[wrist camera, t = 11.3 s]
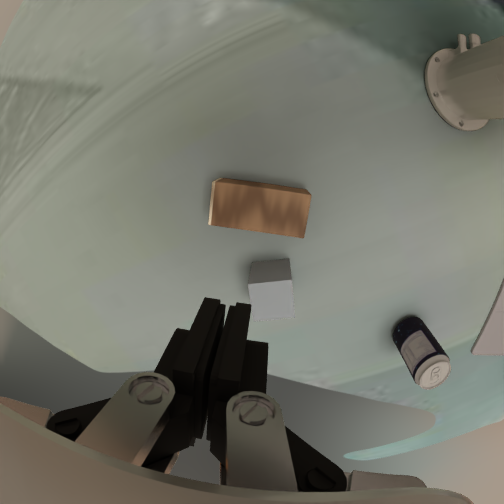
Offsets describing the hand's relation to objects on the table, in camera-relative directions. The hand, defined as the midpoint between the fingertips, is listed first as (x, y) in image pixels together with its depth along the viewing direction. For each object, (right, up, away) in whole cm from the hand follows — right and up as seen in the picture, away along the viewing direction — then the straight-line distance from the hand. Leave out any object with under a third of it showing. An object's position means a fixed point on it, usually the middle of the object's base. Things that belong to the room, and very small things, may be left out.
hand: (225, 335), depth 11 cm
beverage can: (+26, -9, +32) cm, 42 cm away
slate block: (+4, 0, +31) cm, 31 cm away
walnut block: (-4, +9, +25) cm, 27 cm away
